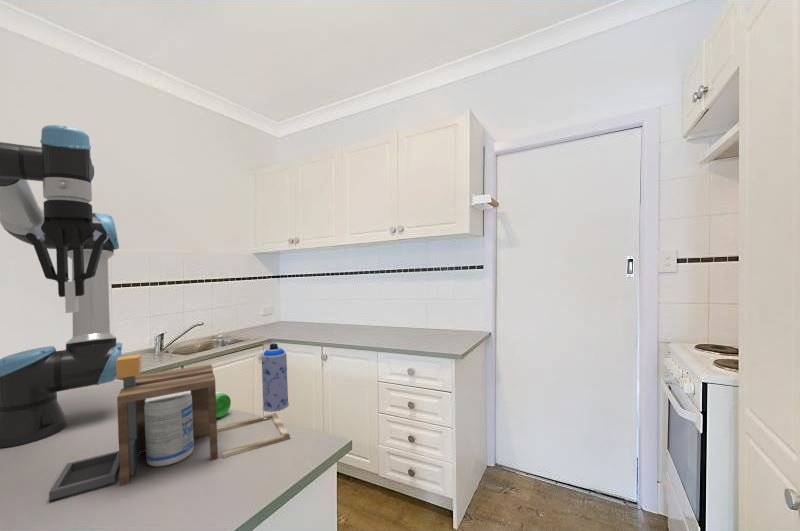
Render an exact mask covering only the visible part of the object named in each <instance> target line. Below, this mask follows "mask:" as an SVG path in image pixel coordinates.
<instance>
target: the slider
mask: <svg viewBox="0 0 800 531" xmlns="http://www.w3.org/2000/svg"><path fill="white" fill-rule="evenodd" d="M141 356H142V354H141V353H137V354H129V355H123V356H122V355H121V357H118V359H117V360H116V374H117V378H116V379H117V380H118V379H122V381H123V383H122V384H123V388H129V387H135V386H136V376H139V375H141V372H142V357H141ZM128 428H129V456H130V476H133V475H135V471H136V467H137V464H138V459H139V456H140V453H141V452H140V436H139V427H137V402H136V401H132V402H128Z"/></svg>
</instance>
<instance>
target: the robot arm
mask: <svg viewBox="0 0 800 531" xmlns="http://www.w3.org/2000/svg"><path fill="white" fill-rule="evenodd" d="M39 143H40V144H41V146H40V147H39V146H33V145H27V144H26V145H24V144H17V143H9V142H1V141H0V224H1V227H2V228H3V229H4V230H5V231H6V232H7V233H8V234H10V235H11V236H12V237H14V238H16V239H17V240H19V241H22V242H23V243H27V244H28V245H31V246H33V247H34V248H33V249H34V250H35V253H36V256H37V259H38V262H39V265H40V267H41V269H42V272H43V274H44V277H45V278H46V279H48V280H53V281H56V282H57V290H58V291H57V292H58V296H59V297H60V298H64V301H65V303H64V304H65V314H68V313H69V314H70V313H72V336H71V338H70V339H69V340H68V341H67V342H66V343H65V349H62V350H57V348H56V347H55V346H52V345H50V346H42V347H36V348H32V349H28V350H24V351H19V352H17V353H13V354H9V355H6V356H4V357H2V358H0V449H1V448H2V449H3V448H9V447H15V446H19V445H25V444H29V443H31V442H35V441H39V440H41V439H44V438H47V437H50V436H53V435H55V434H57V433H58V432H60V431H61V430H63V429H65V428H66V426H67V417H66V415H65V413H64V410H63V408H62V407H61V404H60V403H59V401H58V392H63V391H70V390H75V389H79V388H80V389H81V388H86V387H91V386H100V385H101V384H106V383H111V382H113V381H115V380H116V379H117V374H116V360H117V359H118V357H121V356H122V349H123V343H122V342H119V341H118V342H117V336H115V335H113V334H112V333H111V326H110V324H111V322H110V295H109V294H110V290H109V286H110V285H109V284H110V283H109V259H110V258H111V257H113V256H114V253H115V252H114V251H117V250H118V249H120V245H119V240H118V232H117V229H116V228H117V227H116V224H115V220H114V218H113V216H112V215H110V214H108V213H107V214H105V213H96V212H93V205H92V204H91V203H90V202H92V201H93V196H92V195H93V194H92V192H93V191H92V181H93V180H94V176H95V167H94V165H93V162H92V158H91V148H92V147H91V143H90V137H89V135H88V134H87V132H84V131H83V130H80V129H78V128H74V127H71V126H67V125H66V126H65V125H61V124H58V125H57V124H49V125H45V126H44V127H42V129H41V138H40V142H39ZM28 181H36V182H42V195H43V198H44V199H45V200H44V201H43V202H42V203H43V208H42V207H40V206H39V204H38V202H37V199H36V197H35V195H34V193H33V191H32V189H31V186H30V185H29V182H28ZM49 250H55V251H56V270H55V267H54V264H53V262H52V259H51V256H50V253H49ZM68 258H69V259H70V260H71V281H69V280H70V278H69V260H68Z"/></svg>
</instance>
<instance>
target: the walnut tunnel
mask: <svg viewBox="0 0 800 531" xmlns="http://www.w3.org/2000/svg"><path fill="white" fill-rule="evenodd" d="M185 391H191V396H192V414H193V440H194V439H199V438H203V437H207V436H209V455H210V456H209V457H210V461H213V460H216V459H218V458H219V450H218V448H219V447H218V428H217V427H218V422H217V421H218V420H217V419H218V418H217V416H216V377H215V374H214V369H213V366H212V364H203V365H197V366H191V367H185V368H179V369H173V370H172V369H171V370H165V371H159V372H153V373H147V374H140V375H137V376H136V386H135V387H129V388H124V387H123V388H120V391H119V393H118V394H117V397H116V403H117V406H116V407H117V431H118V433H117V434H118V436H117V437H118V451H119V466H120V472H119V486H120V487H122V486H125V485H128V484H129V485H130V482H131V475H130V456H129V428H128V402H132V401H136V402H137V427H139V436H140V453H142V452H146V441H145V416H144V406H145V399H148V398H153V397H158V396H164V395H169V394H174V393H180V392H185Z"/></svg>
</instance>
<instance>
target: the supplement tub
mask: <svg viewBox="0 0 800 531" xmlns="http://www.w3.org/2000/svg"><path fill="white" fill-rule="evenodd" d="M144 416H145V441H146V451H145V460H146V463H147V465H149V466H151V467H164V466H168V465H173V464H176V463H178V462H181V461H183V460H185V459H186V458H188V457H189V456H190V455H191V454H192V453H193V451H194V448H195V446H194V439H193V414H192V396H191V391H185V392H180V393H174V394H169V395H164V396H158V397H153V398H148V399H145V406H144Z"/></svg>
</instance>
